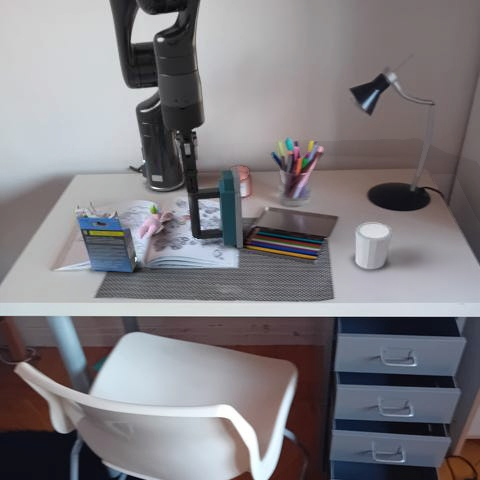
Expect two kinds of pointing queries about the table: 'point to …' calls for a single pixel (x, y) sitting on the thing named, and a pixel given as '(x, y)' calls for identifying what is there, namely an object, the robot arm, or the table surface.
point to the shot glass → (372, 244)
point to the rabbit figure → (151, 224)
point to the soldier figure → (94, 213)
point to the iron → (221, 210)
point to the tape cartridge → (108, 244)
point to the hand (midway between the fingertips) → (191, 182)
